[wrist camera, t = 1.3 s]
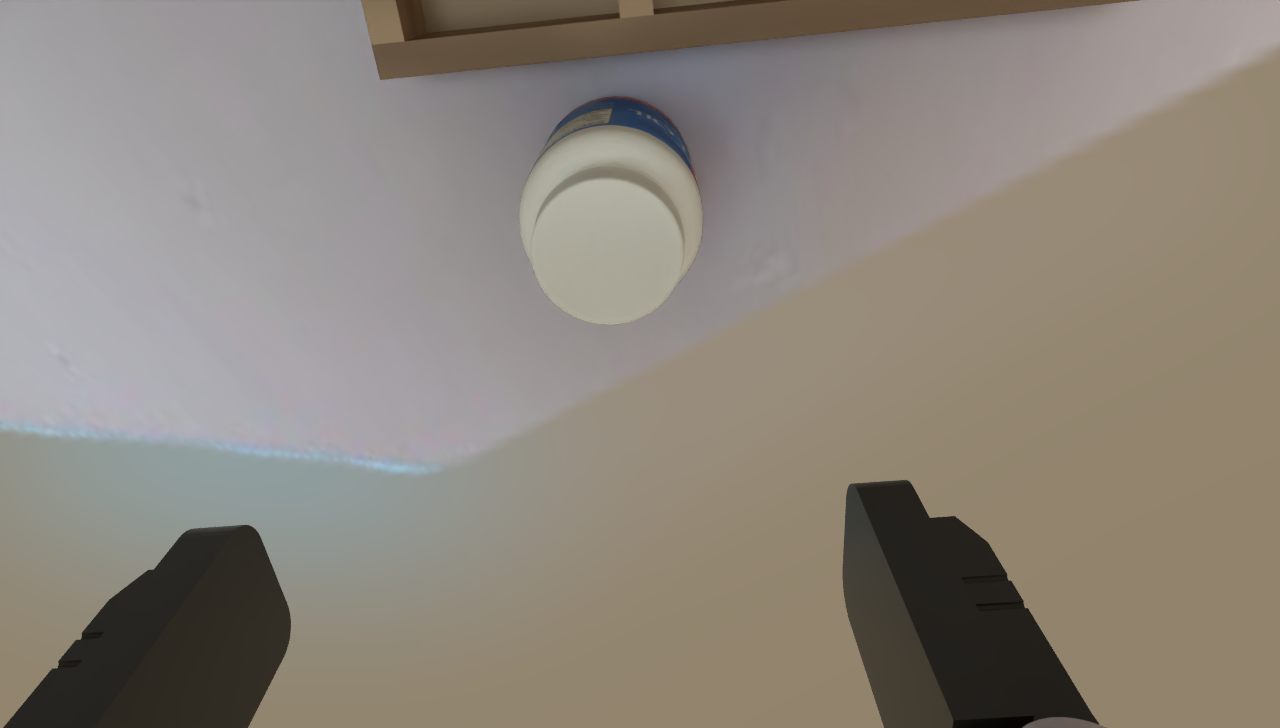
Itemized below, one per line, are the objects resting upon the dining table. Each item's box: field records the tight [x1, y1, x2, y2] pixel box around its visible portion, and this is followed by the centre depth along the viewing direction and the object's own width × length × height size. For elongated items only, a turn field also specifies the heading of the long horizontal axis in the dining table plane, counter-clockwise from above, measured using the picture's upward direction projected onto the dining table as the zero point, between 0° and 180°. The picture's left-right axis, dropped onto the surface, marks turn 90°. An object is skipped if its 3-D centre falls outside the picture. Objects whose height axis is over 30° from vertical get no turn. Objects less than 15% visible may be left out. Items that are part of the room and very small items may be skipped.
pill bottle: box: [519, 97, 703, 325], centre depth 24 cm, size 6×5×10 cm
